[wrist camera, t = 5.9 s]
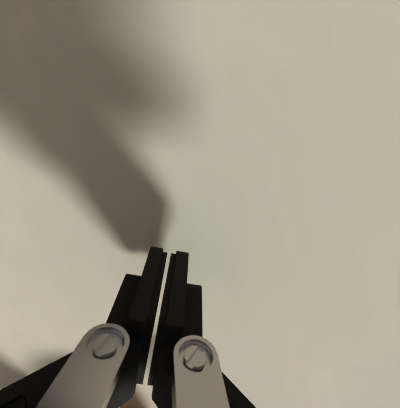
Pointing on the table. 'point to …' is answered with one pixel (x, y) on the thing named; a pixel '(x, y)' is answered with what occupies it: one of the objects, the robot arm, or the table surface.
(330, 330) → the table surface
